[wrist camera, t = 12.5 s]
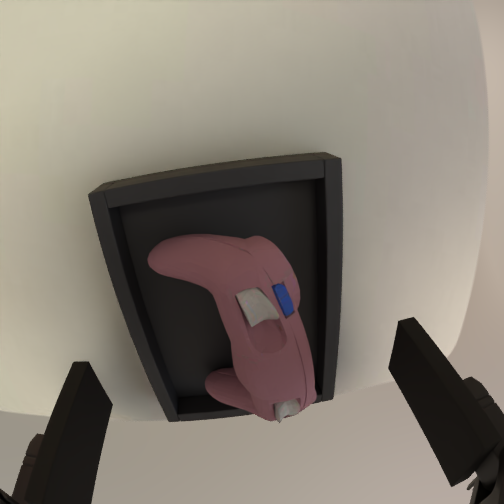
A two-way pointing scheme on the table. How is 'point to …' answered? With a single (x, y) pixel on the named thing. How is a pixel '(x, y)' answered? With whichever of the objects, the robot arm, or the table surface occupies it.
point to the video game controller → (249, 319)
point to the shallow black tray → (201, 299)
